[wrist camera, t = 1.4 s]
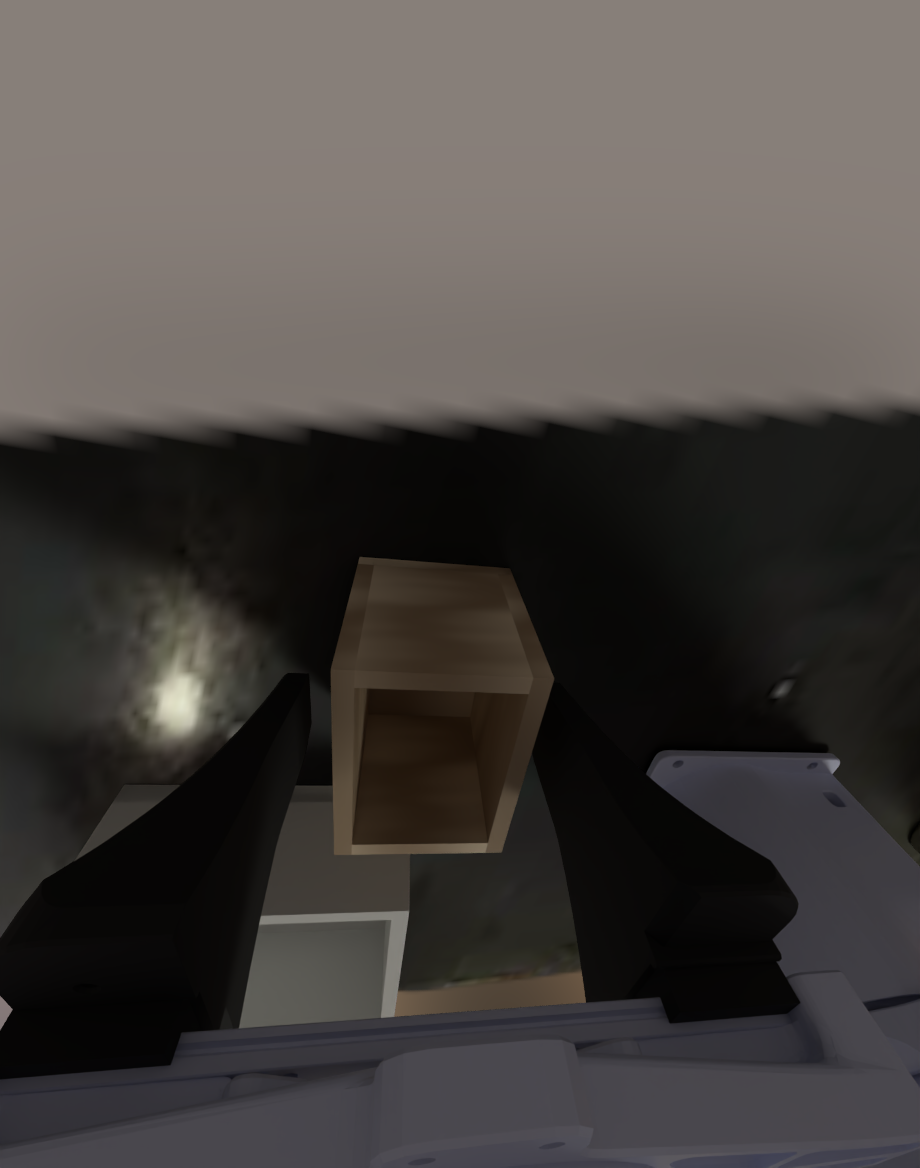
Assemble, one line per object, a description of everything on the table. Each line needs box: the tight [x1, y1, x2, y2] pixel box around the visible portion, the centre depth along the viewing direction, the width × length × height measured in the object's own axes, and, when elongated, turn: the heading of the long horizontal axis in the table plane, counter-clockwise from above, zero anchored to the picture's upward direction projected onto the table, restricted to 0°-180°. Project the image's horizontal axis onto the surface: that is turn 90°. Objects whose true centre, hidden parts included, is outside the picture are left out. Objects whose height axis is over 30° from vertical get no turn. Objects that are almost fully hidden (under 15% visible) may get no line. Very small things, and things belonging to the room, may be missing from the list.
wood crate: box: [331, 557, 554, 855], centre depth 14 cm, size 5×7×6 cm
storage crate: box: [75, 785, 410, 1028], centre depth 20 cm, size 12×12×5 cm
